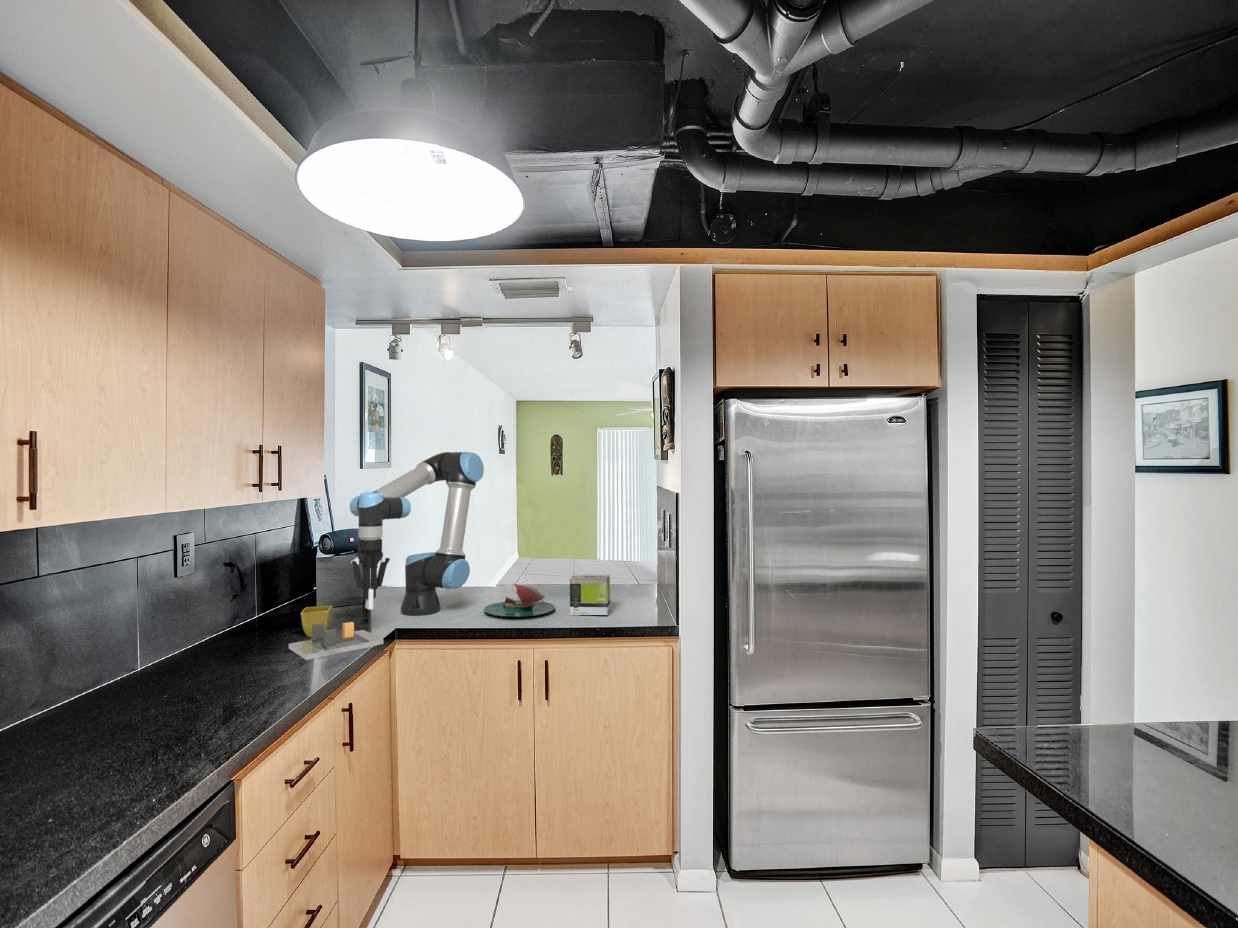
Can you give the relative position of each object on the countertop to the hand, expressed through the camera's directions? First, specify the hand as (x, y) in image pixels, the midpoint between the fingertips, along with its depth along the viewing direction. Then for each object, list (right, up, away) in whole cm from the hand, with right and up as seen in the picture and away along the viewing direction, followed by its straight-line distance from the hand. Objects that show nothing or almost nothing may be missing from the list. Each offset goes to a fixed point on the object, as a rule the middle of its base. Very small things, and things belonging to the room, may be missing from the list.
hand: (369, 608), depth 211 cm
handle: (-7, -9, -14) cm, 18 cm away
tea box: (+73, -11, +38) cm, 83 cm away
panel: (-8, -11, -7) cm, 15 cm away
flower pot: (-20, -11, +6) cm, 24 cm away
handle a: (-14, -9, -7) cm, 18 cm away
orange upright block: (-5, -9, -5) cm, 11 cm away
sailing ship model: (+44, -11, +40) cm, 60 cm away
